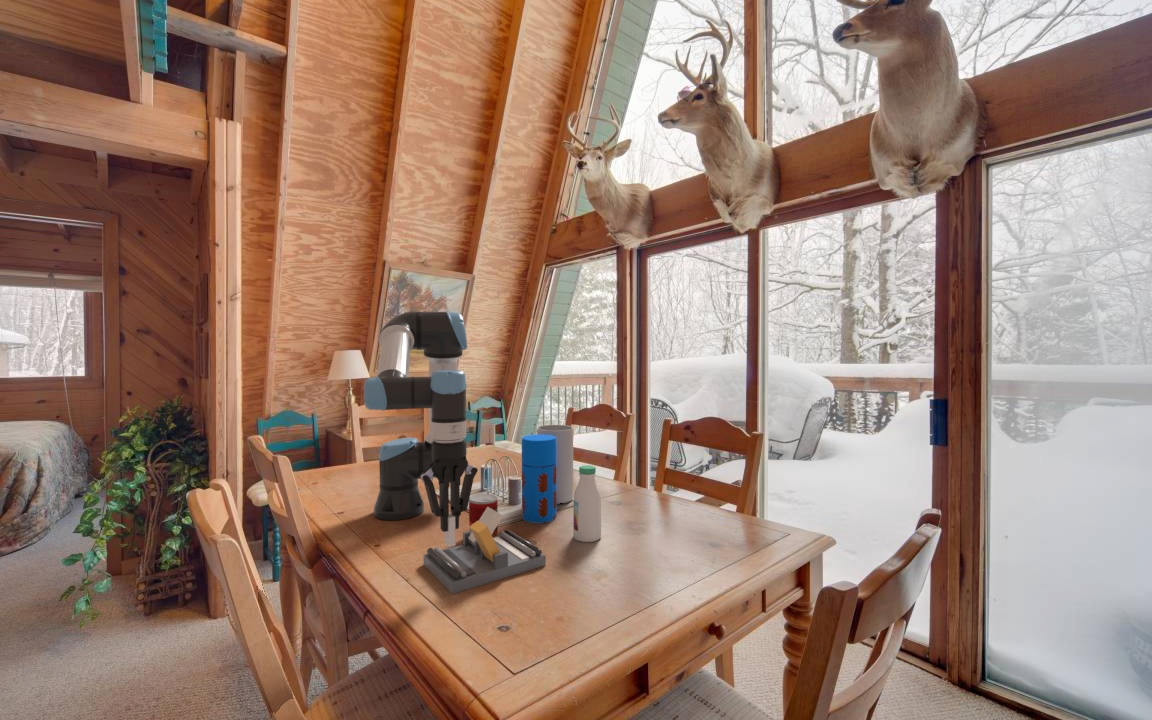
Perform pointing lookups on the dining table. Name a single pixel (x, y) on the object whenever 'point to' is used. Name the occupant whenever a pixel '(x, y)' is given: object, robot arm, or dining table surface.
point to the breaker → (487, 522)
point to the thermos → (539, 478)
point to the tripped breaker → (484, 540)
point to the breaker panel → (482, 561)
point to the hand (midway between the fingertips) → (449, 544)
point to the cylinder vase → (562, 459)
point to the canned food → (482, 508)
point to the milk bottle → (587, 506)
